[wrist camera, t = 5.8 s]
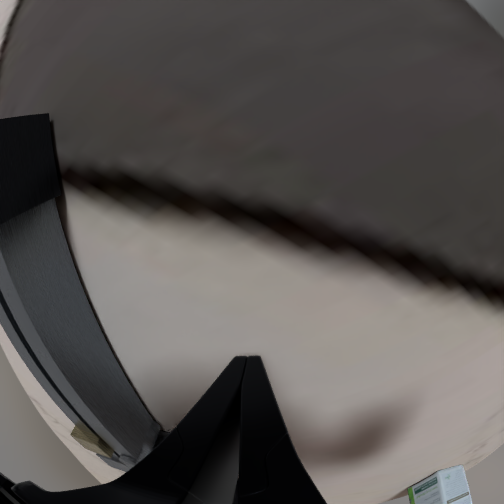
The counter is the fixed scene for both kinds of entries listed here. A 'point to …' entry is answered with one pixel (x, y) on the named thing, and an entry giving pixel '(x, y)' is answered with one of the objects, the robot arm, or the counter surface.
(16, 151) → the tongs arm
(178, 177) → the counter surface
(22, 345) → the tongs
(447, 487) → the syrup box
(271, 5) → the counter surface
